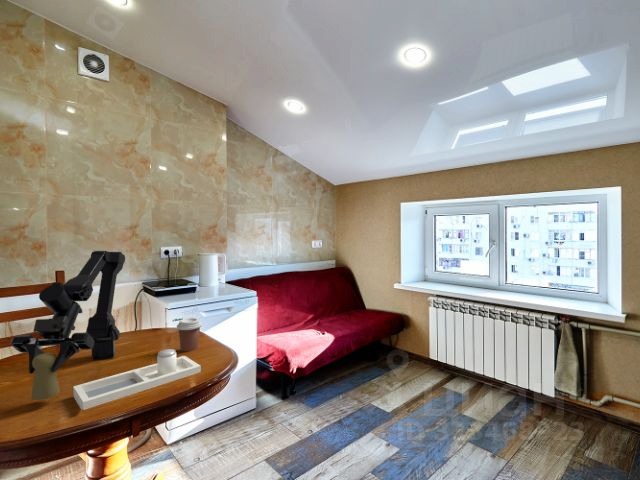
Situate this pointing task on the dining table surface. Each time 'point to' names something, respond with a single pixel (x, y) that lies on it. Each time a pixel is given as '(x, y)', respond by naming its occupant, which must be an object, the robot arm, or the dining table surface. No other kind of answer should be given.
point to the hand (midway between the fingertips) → (41, 372)
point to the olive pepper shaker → (44, 377)
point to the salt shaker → (166, 362)
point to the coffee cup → (189, 334)
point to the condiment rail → (129, 383)
